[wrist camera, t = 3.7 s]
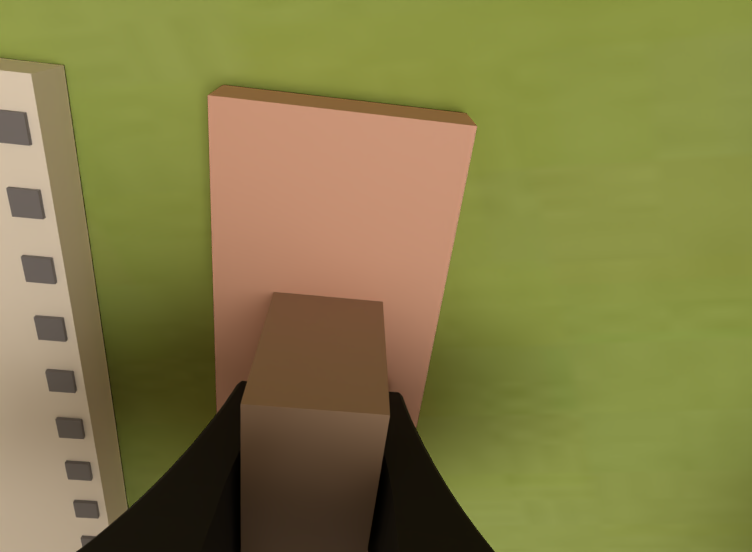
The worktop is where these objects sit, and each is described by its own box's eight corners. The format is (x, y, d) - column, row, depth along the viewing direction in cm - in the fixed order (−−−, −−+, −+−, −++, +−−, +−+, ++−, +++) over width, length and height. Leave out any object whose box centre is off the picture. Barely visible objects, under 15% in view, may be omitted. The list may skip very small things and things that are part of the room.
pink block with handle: (383, 546, 18) (390, 722, 13) (229, 538, 17) (186, 715, 13) (466, 113, 11) (528, 188, 7) (222, 84, 11) (133, 145, 7)
